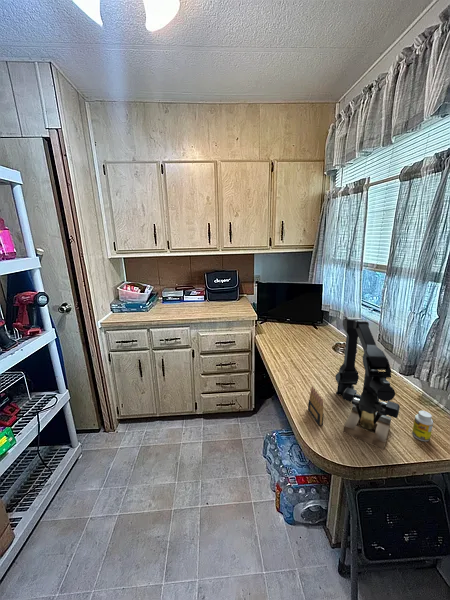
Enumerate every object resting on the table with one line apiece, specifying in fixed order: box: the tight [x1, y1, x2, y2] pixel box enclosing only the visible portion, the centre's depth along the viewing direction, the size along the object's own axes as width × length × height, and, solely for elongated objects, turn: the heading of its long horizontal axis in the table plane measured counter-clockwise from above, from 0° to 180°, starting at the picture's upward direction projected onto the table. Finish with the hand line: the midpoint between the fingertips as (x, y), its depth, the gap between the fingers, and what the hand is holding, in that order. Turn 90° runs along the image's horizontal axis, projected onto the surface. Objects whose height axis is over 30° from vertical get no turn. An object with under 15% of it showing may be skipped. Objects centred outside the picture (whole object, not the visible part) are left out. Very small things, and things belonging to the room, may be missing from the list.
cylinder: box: [359, 411, 376, 430], centre depth 101 cm, size 5×5×8 cm
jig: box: [342, 404, 392, 450], centre depth 103 cm, size 14×14×5 cm
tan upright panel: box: [307, 386, 325, 426], centre depth 110 cm, size 11×2×12 cm, turn 6°
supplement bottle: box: [411, 410, 434, 442], centre depth 98 cm, size 6×6×10 cm
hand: (367, 420), depth 101 cm, fingers closed on cylinder, 5 cm apart
